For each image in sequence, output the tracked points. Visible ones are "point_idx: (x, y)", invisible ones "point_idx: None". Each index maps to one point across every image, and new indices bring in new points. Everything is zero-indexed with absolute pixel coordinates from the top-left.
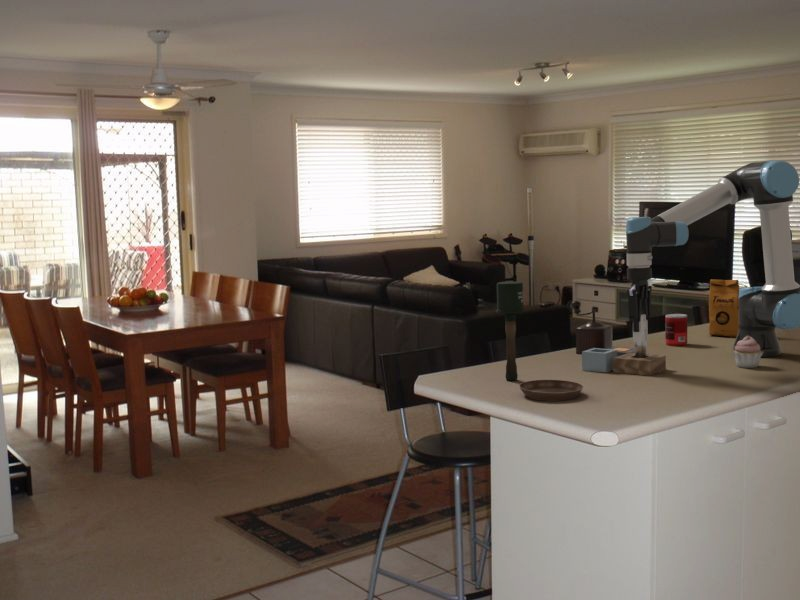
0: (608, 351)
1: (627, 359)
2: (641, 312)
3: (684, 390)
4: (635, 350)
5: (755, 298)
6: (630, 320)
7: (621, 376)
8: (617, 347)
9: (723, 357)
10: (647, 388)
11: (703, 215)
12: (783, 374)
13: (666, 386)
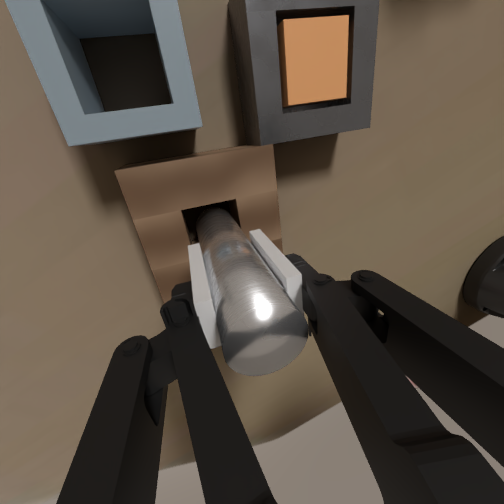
0: (131, 118)
1: (137, 230)
2: (321, 324)
3: (81, 420)
4: (201, 231)
5: None
6: (164, 314)
7: (87, 231)
8: (359, 7)
9: (453, 251)
10: (16, 377)
11: None
12: (332, 397)
13: (82, 381)
